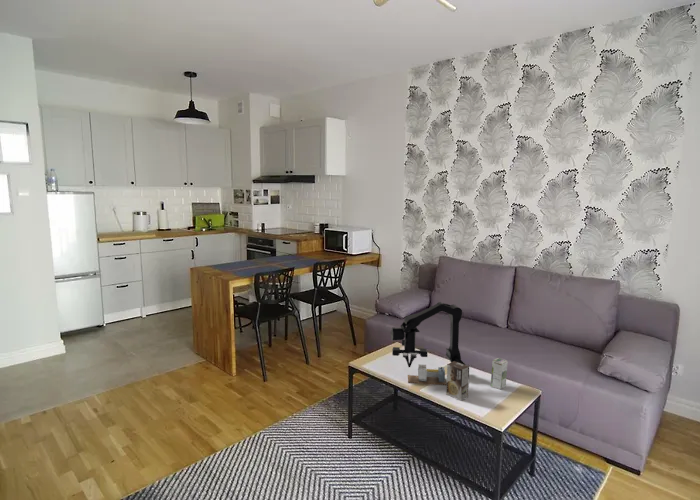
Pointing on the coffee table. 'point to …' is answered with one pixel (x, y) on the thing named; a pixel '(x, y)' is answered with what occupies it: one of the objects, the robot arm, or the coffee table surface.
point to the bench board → (428, 380)
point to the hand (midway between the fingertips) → (409, 367)
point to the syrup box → (499, 373)
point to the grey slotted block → (422, 372)
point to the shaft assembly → (437, 373)
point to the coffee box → (457, 380)
